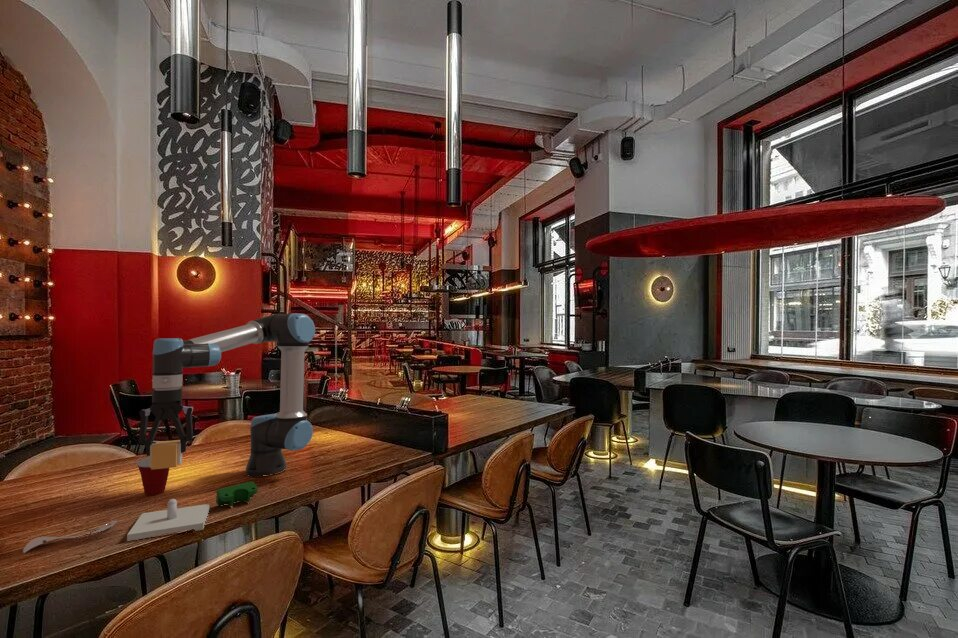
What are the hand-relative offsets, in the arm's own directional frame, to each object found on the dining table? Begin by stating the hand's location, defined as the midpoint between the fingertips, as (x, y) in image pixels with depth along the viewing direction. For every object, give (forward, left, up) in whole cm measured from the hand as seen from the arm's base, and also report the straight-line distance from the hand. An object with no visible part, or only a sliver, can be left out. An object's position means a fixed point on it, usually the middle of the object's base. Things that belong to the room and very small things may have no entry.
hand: (166, 464), depth 138 cm
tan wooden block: (0, 0, 0) cm, 0 cm away
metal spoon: (+22, +2, -18) cm, 28 cm away
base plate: (-2, +3, -17) cm, 18 cm away
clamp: (-19, -7, -18) cm, 27 cm away
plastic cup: (+9, -31, -18) cm, 37 cm away
